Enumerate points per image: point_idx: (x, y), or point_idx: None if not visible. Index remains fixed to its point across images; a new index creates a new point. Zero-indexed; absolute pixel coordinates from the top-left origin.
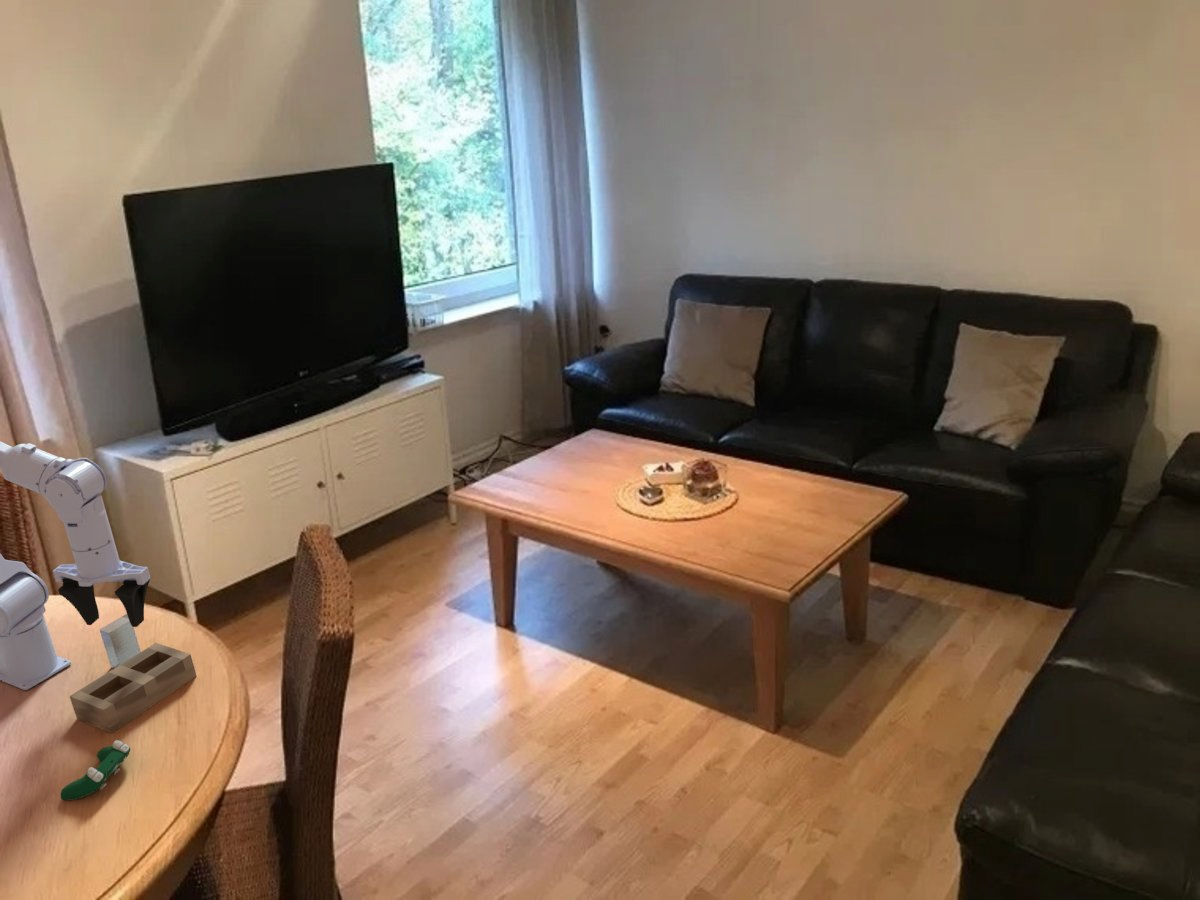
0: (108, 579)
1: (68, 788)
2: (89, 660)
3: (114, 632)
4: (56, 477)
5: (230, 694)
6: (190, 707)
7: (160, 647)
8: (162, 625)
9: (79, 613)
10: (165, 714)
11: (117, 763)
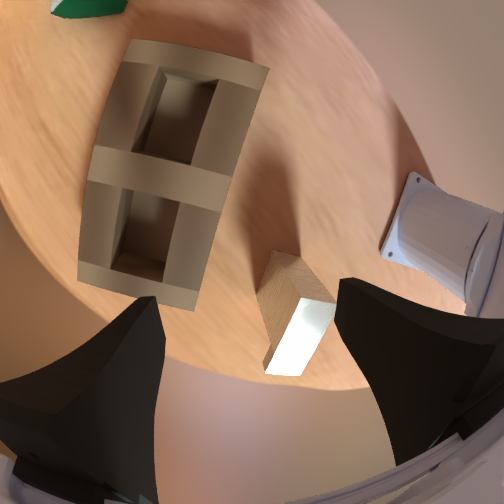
0: None
1: None
2: (355, 269)
3: (293, 306)
4: None
5: (17, 220)
6: (48, 168)
7: (166, 296)
8: None
9: (392, 293)
10: (76, 136)
11: None
